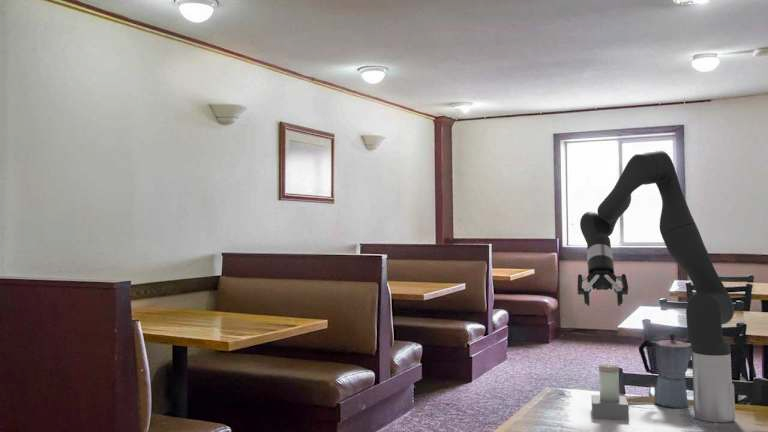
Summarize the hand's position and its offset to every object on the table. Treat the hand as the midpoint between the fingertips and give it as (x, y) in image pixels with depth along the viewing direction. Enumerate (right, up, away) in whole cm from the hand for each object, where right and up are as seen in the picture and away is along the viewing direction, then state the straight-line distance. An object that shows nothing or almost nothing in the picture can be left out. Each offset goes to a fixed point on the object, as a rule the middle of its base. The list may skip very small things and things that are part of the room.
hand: (603, 304), depth 192 cm
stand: (-2, -28, -12) cm, 31 cm away
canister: (-2, -24, -12) cm, 27 cm away
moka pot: (+18, -28, -4) cm, 34 cm away
